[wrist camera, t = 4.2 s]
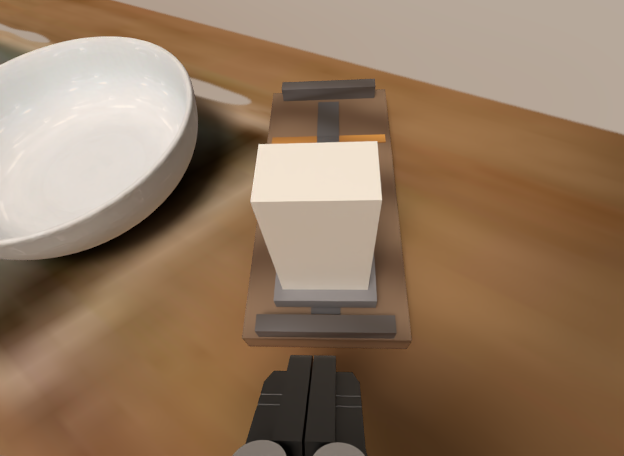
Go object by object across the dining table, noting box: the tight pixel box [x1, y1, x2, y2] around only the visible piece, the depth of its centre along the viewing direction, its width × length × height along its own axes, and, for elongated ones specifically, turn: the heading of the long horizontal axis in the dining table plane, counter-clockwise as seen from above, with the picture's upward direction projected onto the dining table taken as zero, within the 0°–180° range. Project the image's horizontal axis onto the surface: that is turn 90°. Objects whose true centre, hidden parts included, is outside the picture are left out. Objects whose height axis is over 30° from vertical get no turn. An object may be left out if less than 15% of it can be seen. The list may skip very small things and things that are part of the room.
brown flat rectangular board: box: [242, 79, 412, 349], centre depth 28 cm, size 22×10×3 cm, turn 178°
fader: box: [250, 141, 382, 308], centre depth 19 cm, size 4×6×10 cm
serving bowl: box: [0, 37, 198, 260], centre depth 29 cm, size 21×21×7 cm
